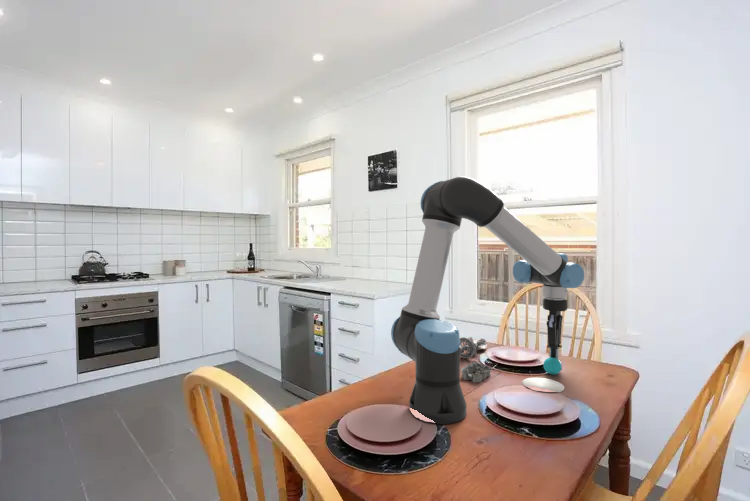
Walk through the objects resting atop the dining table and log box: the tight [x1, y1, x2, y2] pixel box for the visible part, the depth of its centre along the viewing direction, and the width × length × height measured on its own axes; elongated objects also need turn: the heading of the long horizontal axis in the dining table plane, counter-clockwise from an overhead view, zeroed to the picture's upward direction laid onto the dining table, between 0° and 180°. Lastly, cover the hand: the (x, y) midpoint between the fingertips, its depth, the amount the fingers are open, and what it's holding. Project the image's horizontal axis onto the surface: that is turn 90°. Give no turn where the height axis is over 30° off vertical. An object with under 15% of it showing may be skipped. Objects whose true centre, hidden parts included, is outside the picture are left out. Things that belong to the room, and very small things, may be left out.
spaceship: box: [460, 336, 488, 360], centre depth 147 cm, size 8×35×8 cm
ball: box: [542, 356, 562, 375], centre depth 129 cm, size 6×6×6 cm
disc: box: [521, 377, 565, 394], centre depth 120 cm, size 12×12×1 cm
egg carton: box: [460, 361, 493, 383], centre depth 128 cm, size 10×7×4 cm
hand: (554, 366), depth 132 cm, fingers closed
